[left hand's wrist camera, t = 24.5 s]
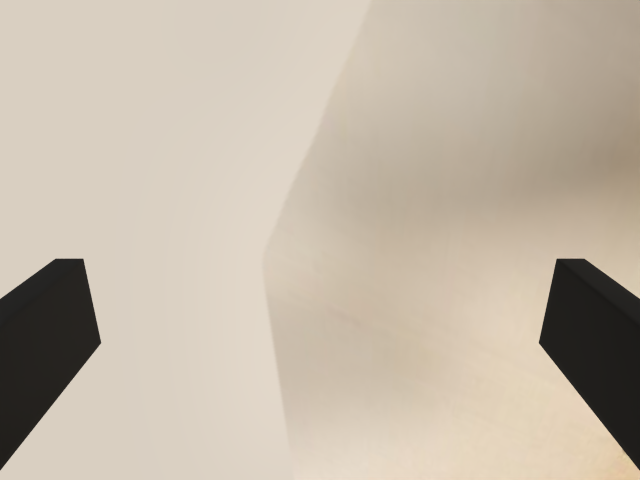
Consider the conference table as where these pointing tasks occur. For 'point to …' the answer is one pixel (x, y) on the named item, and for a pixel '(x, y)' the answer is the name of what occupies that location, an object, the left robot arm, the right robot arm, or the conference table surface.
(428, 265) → the conference table surface
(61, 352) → the left robot arm
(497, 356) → the conference table surface
